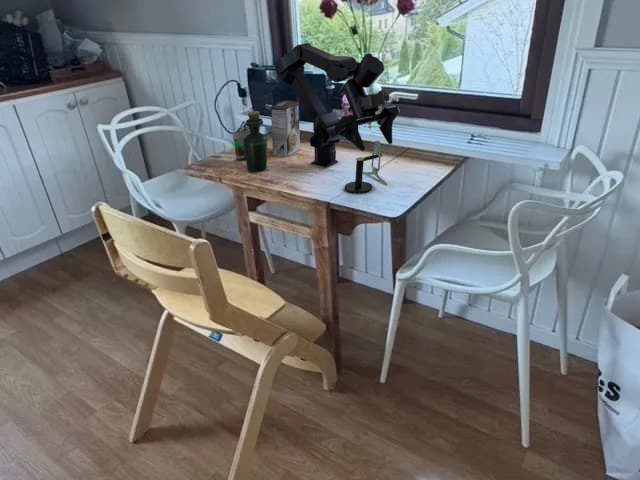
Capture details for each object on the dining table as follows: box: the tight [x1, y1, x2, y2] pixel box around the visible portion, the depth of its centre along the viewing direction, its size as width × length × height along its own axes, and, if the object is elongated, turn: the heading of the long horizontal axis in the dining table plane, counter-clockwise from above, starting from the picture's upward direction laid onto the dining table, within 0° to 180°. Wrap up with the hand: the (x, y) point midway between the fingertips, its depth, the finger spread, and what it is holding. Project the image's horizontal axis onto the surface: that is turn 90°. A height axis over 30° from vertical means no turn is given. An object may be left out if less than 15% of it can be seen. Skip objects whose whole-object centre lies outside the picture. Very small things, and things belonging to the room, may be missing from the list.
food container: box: [232, 122, 250, 162], centre depth 182 cm, size 12×6×10 cm, turn 160°
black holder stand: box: [344, 152, 384, 195], centre depth 151 cm, size 8×12×9 cm
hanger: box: [363, 140, 388, 187], centre depth 150 cm, size 1×12×11 cm, turn 22°
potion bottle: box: [243, 110, 269, 173], centre depth 169 cm, size 8×8×18 cm
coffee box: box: [270, 100, 301, 158], centre depth 180 cm, size 9×6×16 cm
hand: (377, 146), depth 148 cm, fingers open, 9 cm apart
